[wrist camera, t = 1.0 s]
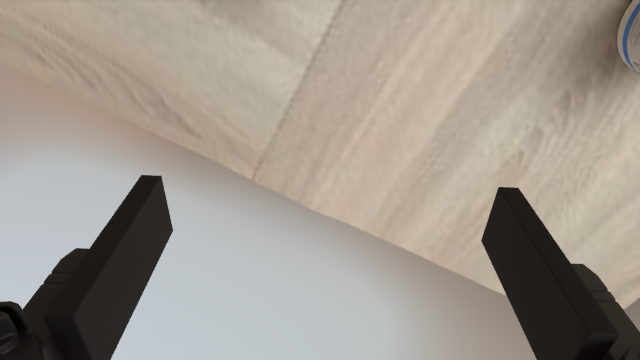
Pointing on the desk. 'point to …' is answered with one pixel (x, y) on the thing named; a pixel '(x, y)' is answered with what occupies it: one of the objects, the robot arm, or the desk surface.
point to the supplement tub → (630, 36)
